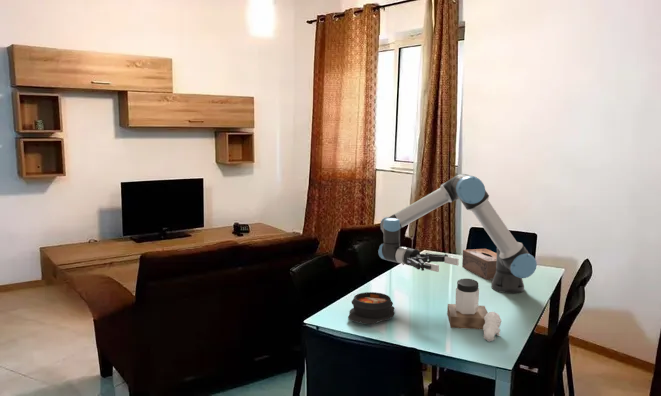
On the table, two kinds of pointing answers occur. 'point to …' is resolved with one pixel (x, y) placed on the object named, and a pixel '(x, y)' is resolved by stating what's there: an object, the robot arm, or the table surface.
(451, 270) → the table surface
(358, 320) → the casserole
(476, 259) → the tissue box cover
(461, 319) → the walnut block
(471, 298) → the jar
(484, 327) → the white animal figurine
